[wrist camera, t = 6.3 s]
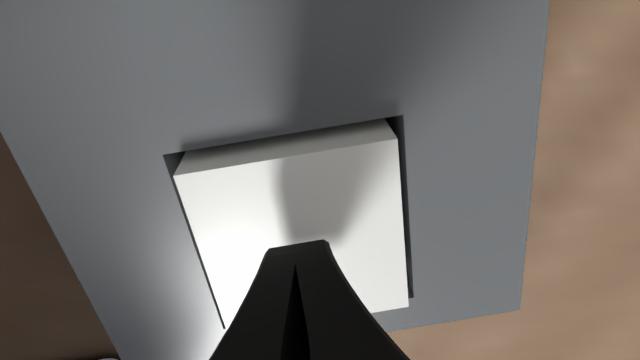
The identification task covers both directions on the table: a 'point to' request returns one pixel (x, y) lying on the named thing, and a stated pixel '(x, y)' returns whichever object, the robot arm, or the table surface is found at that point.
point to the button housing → (267, 121)
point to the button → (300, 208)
